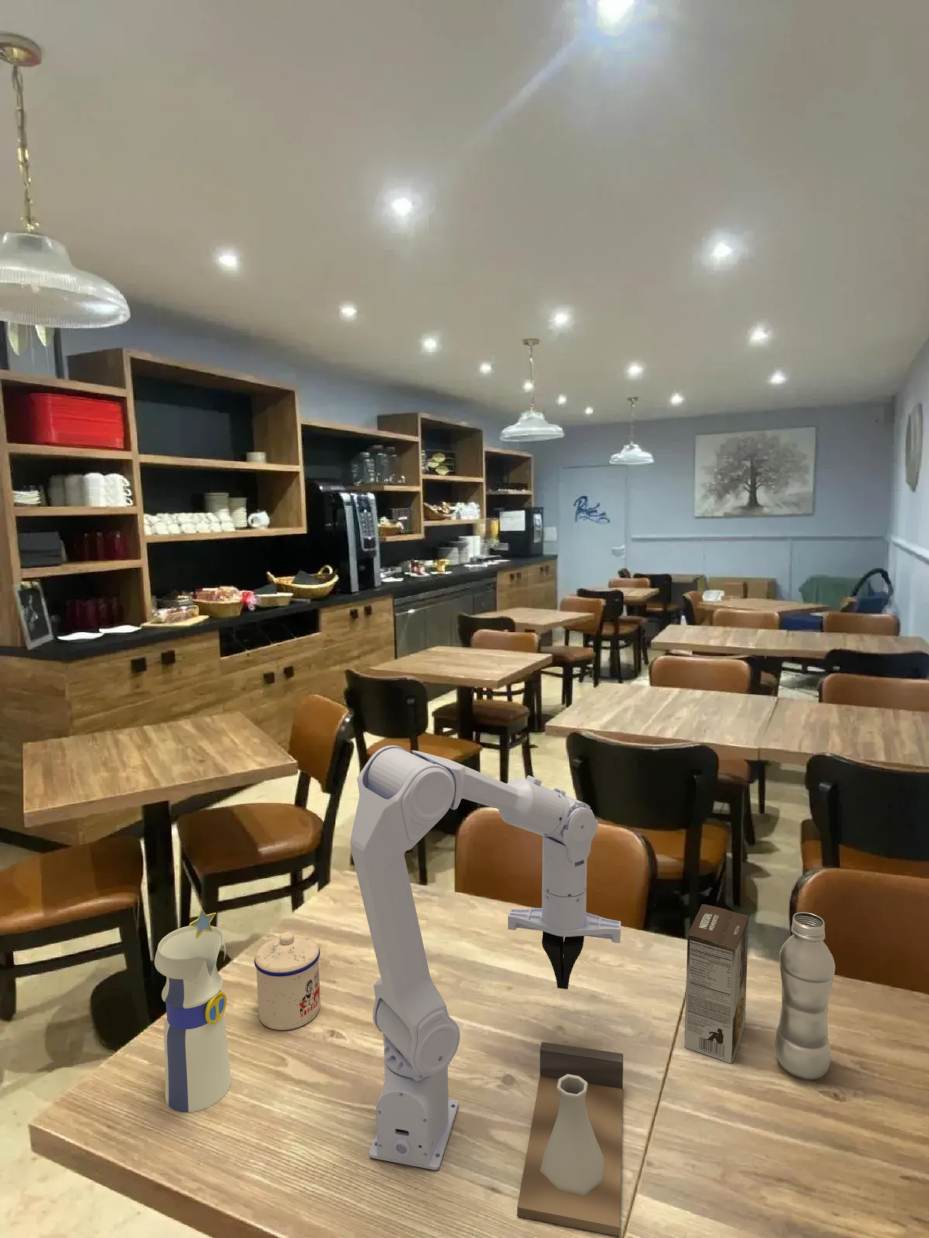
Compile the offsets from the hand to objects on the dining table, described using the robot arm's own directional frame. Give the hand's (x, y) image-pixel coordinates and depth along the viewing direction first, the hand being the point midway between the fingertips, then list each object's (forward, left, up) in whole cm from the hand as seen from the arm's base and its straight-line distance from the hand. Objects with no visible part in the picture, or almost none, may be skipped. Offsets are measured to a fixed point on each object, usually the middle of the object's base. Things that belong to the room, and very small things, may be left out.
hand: (563, 984), depth 96 cm
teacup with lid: (0, +39, -9) cm, 40 cm away
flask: (-20, -3, -9) cm, 22 cm away
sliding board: (-17, -3, -9) cm, 19 cm away
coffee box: (+6, -20, -9) cm, 23 cm away
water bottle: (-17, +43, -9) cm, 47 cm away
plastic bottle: (+2, -30, -9) cm, 31 cm away
